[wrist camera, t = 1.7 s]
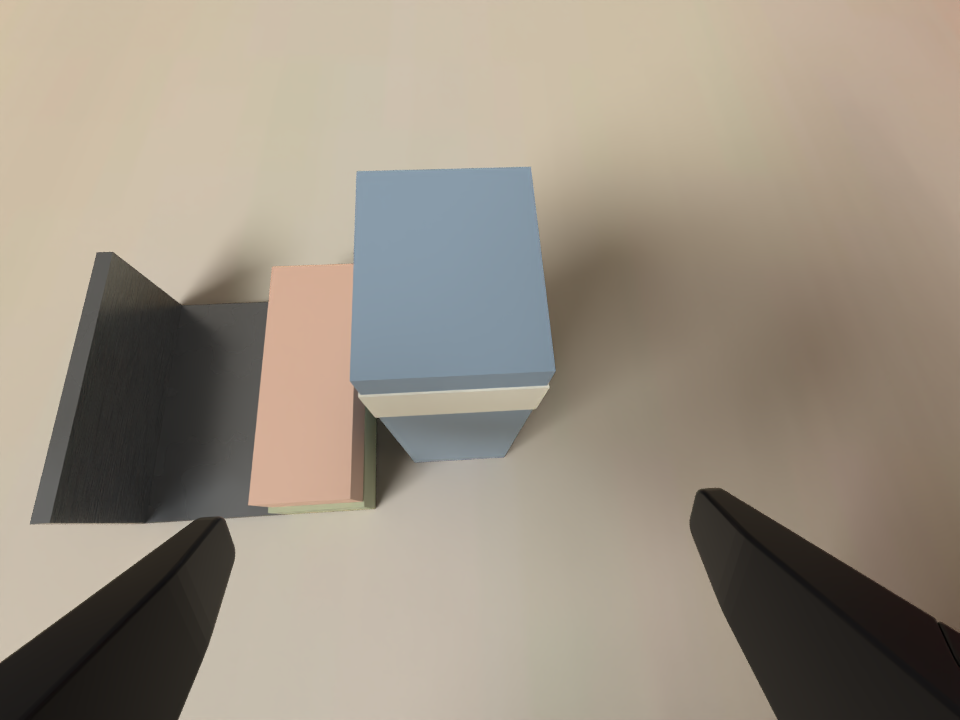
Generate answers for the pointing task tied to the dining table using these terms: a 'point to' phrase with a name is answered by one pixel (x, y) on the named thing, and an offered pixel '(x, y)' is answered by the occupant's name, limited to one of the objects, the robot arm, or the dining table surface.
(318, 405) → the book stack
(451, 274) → the blue-grey rectangular block
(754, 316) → the dining table surface
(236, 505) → the steel bookend
